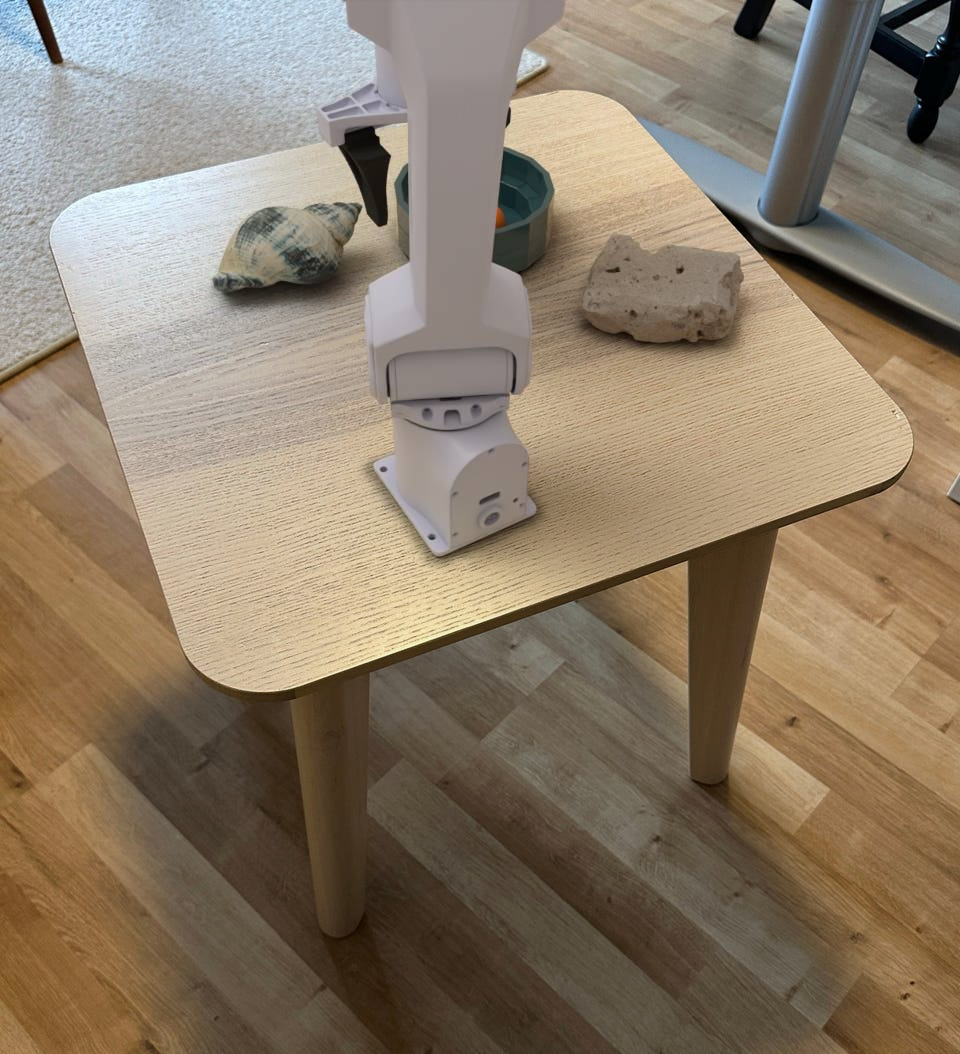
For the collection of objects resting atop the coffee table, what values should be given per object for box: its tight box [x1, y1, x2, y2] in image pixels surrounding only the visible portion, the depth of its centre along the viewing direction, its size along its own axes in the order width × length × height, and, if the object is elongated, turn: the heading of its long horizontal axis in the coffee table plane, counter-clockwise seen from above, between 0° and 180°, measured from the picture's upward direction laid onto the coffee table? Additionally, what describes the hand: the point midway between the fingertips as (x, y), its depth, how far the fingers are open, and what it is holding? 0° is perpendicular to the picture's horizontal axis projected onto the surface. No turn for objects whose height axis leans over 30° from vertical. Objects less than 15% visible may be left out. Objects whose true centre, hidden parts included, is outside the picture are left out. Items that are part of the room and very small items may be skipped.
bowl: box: [393, 146, 556, 273], centre depth 92 cm, size 13×13×5 cm
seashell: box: [211, 201, 363, 294], centre depth 88 cm, size 6×8×12 cm
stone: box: [578, 233, 745, 343], centre depth 86 cm, size 13×6×10 cm
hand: (422, 204), depth 81 cm, fingers open, 7 cm apart
